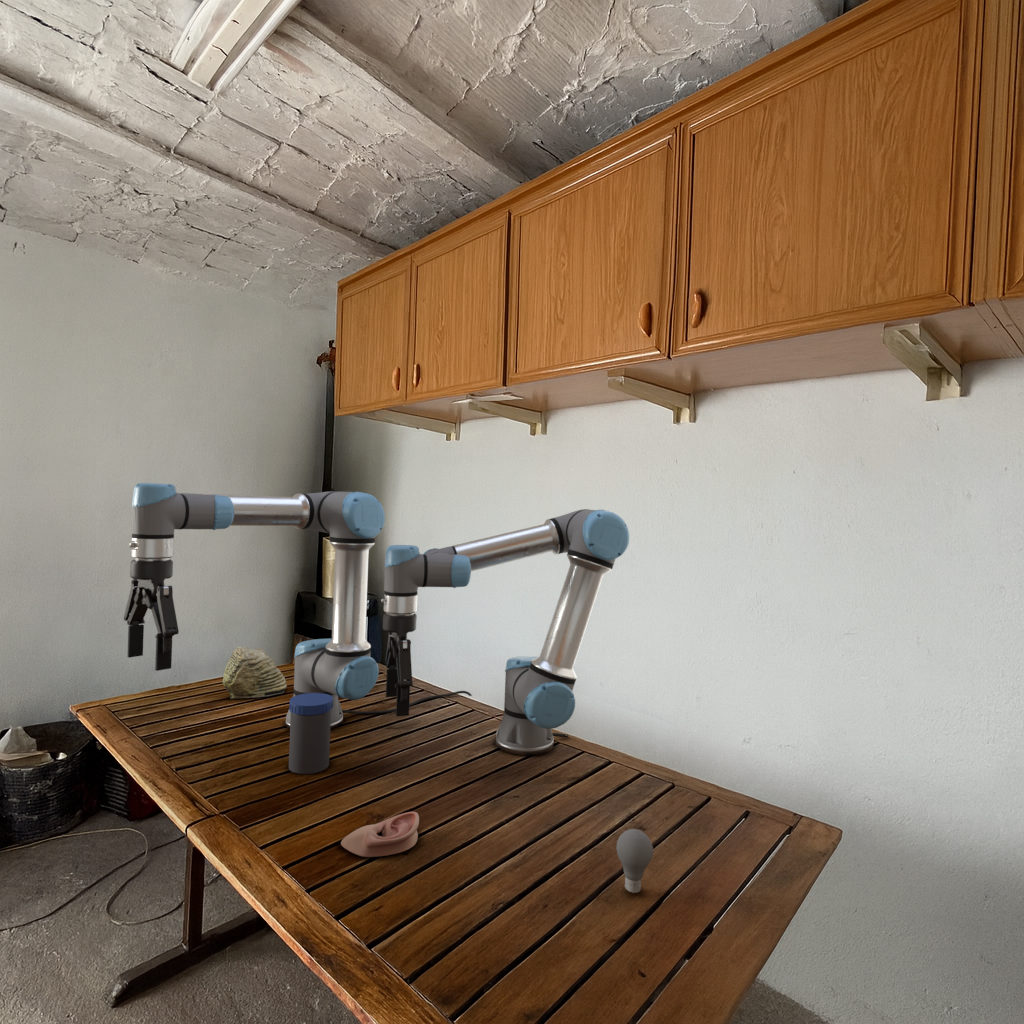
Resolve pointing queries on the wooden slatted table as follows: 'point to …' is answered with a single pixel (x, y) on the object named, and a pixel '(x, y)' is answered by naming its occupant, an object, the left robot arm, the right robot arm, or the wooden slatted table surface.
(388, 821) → the anatomical model
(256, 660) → the fossil
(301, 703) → the lid
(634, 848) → the light bulb
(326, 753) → the jar
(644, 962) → the wooden slatted table surface
